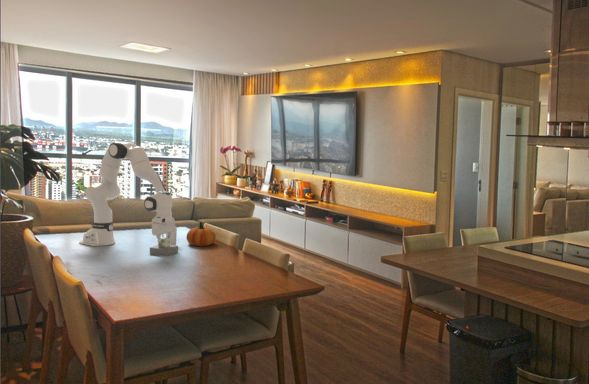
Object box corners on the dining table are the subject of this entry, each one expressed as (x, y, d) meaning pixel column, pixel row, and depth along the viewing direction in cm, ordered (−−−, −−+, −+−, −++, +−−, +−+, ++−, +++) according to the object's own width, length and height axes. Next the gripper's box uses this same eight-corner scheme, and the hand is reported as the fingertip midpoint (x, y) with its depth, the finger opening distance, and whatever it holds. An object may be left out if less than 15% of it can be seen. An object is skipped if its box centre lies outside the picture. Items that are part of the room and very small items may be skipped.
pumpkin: (206, 248, 321) (206, 225, 319) (180, 245, 327) (180, 223, 326) (221, 243, 339) (221, 221, 337) (196, 240, 345) (196, 219, 344)
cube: (158, 246, 302) (158, 238, 302) (162, 245, 307) (162, 237, 306) (165, 247, 300) (165, 239, 300) (170, 246, 305) (170, 238, 305)
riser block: (149, 254, 300) (149, 247, 300) (161, 250, 311) (161, 243, 311) (167, 256, 296) (167, 249, 296) (178, 252, 308) (178, 245, 307)
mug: (178, 245, 329) (178, 226, 328) (173, 246, 323) (173, 228, 321) (164, 243, 331) (164, 225, 330) (159, 245, 325) (159, 227, 324)
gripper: (169, 215, 313) (169, 237, 314) (149, 219, 293) (149, 243, 295) (178, 216, 311) (177, 238, 312) (159, 220, 291) (159, 244, 293)
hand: (164, 240), depth 303 cm, fingers open, 8 cm apart
